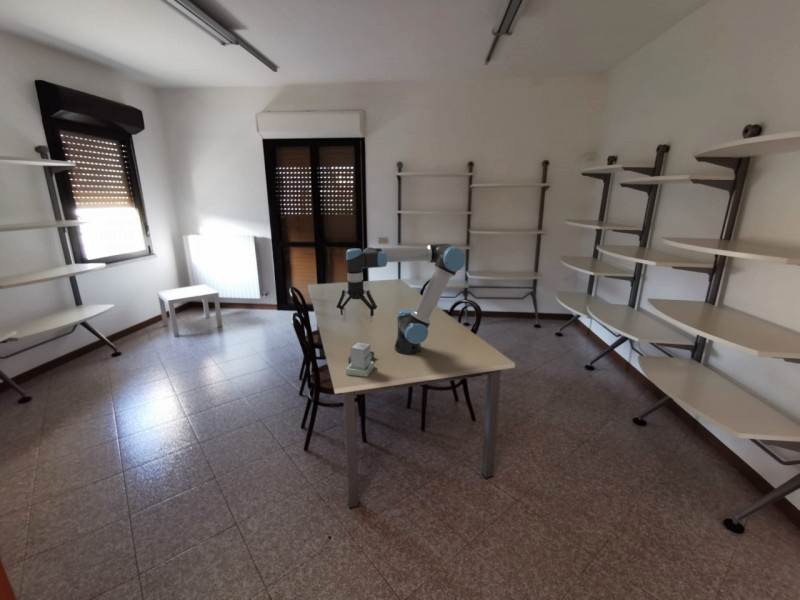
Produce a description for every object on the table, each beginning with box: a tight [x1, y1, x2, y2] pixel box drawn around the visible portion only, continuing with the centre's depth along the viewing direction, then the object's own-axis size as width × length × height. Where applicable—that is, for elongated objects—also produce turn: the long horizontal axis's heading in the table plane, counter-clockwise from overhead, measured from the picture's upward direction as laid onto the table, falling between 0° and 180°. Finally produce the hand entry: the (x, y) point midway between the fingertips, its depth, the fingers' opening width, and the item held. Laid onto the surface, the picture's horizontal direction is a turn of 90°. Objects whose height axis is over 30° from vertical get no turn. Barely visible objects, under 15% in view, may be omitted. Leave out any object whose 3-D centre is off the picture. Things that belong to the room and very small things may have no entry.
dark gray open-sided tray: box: [348, 350, 375, 365], centre depth 195 cm, size 11×10×4 cm
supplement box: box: [350, 342, 371, 370], centre depth 182 cm, size 7×7×13 cm
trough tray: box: [345, 360, 375, 378], centre depth 184 cm, size 11×11×3 cm
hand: (357, 321), depth 184 cm, fingers open, 13 cm apart
